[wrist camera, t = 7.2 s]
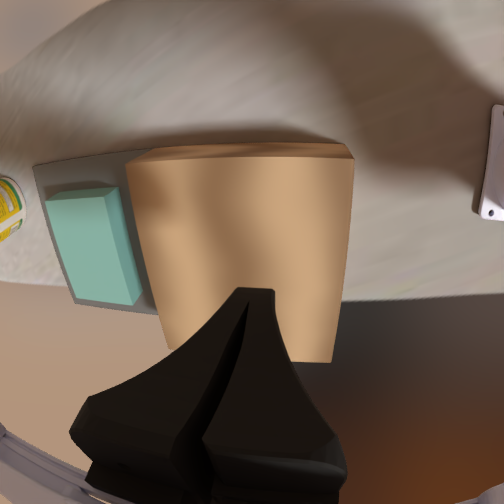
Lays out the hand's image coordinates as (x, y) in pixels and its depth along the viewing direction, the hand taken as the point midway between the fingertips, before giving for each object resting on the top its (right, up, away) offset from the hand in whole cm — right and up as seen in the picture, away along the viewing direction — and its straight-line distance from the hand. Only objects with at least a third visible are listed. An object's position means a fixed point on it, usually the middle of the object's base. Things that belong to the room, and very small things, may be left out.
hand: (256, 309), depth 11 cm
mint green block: (-13, +2, +11) cm, 17 cm away
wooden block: (0, +3, +11) cm, 11 cm away
